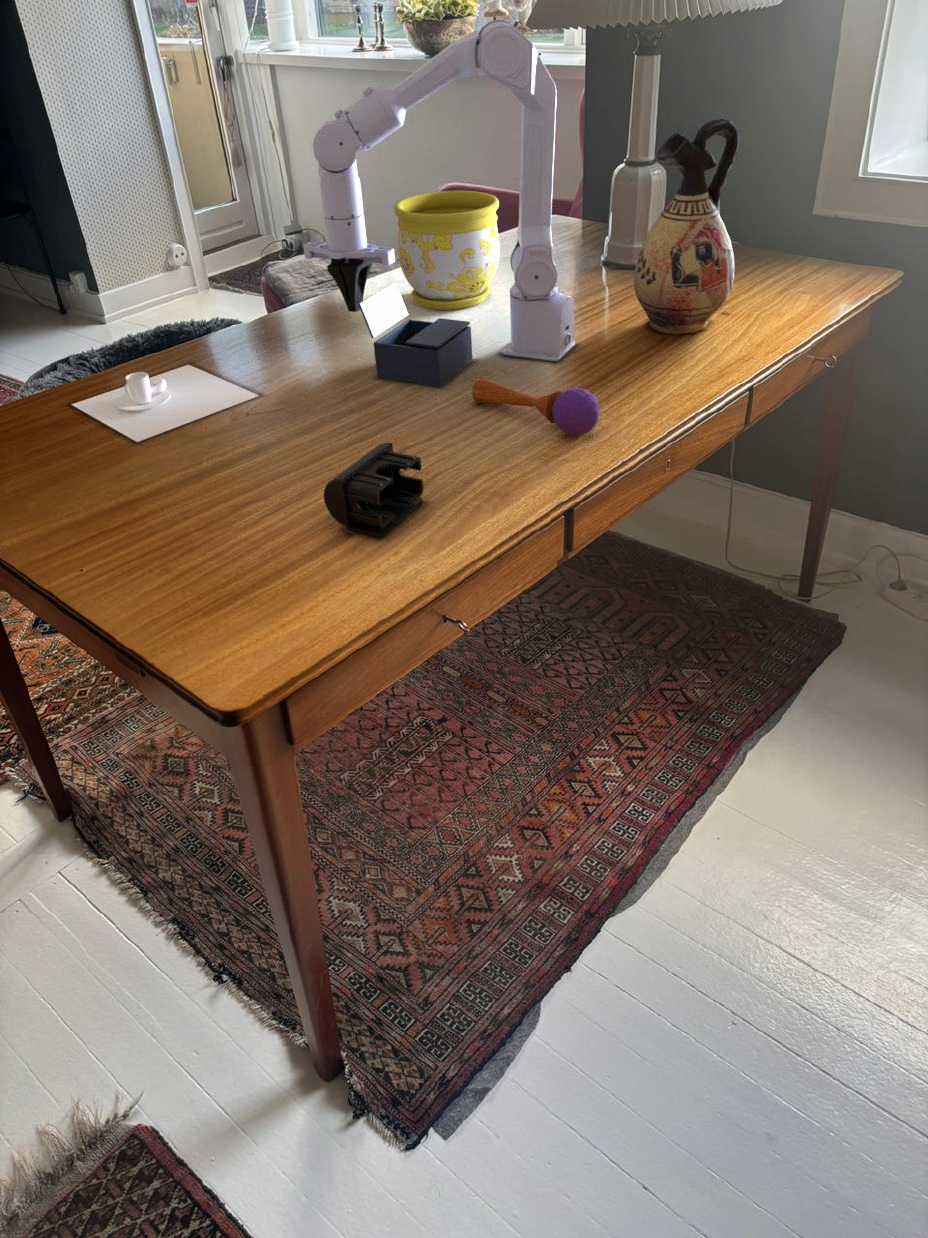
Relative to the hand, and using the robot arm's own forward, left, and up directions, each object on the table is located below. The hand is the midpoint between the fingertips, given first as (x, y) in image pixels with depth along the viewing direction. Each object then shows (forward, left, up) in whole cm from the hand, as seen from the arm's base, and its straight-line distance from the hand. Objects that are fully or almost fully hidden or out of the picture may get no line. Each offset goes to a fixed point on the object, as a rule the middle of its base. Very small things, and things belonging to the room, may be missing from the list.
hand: (355, 309), depth 143 cm
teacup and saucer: (+20, +23, -8) cm, 32 cm away
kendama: (-34, +11, -8) cm, 37 cm away
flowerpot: (0, -32, -8) cm, 33 cm away
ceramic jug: (-43, -31, -8) cm, 54 cm away
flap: (-5, 0, +1) cm, 5 cm away
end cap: (-27, +41, -8) cm, 50 cm away
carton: (-11, 0, -8) cm, 14 cm away
